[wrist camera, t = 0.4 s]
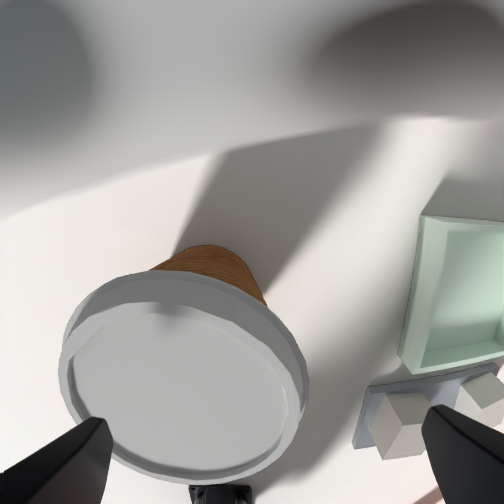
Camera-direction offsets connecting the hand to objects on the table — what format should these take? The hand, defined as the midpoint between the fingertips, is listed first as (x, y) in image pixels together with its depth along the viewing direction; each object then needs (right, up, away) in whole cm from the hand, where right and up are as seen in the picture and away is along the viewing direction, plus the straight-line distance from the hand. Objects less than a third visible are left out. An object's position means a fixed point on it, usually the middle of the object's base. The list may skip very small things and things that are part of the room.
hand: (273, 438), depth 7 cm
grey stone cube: (+12, -9, +16) cm, 22 cm away
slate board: (+16, -10, +17) cm, 26 cm away
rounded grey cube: (+21, -9, +16) cm, 28 cm away
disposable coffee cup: (-3, +2, +14) cm, 15 cm away
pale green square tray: (+17, +2, +14) cm, 22 cm away
